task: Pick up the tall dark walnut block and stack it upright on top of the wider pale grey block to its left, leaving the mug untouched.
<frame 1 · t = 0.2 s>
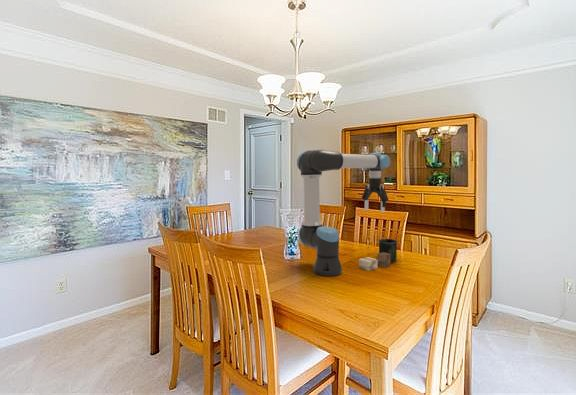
hand: (374, 211, 206), 28 cm above the table, fingers open, 13 cm apart
mug: (388, 260, 194), on the table
pale grey block: (368, 268, 178), on the table
walnut block: (383, 266, 182), on the table
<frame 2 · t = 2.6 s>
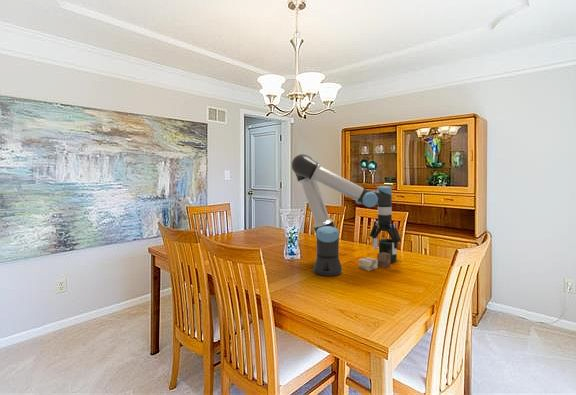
hand: (384, 251, 181), 8 cm above the table, fingers open, 13 cm apart
nothing on the table moved.
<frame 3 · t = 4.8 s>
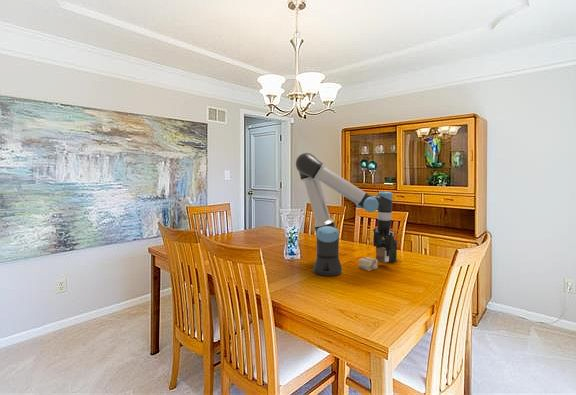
hand: (382, 260, 181), 3 cm above the table, fingers closed on walnut block, 5 cm apart
walnut block: (382, 261, 181), point 3 cm above the table, touching gripper
everything else where it was.
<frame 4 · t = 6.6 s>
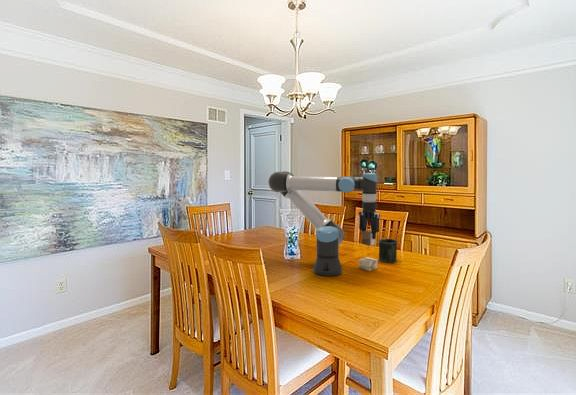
hand: (368, 243, 177), 14 cm above the table, fingers closed on walnut block, 5 cm apart
walnut block: (368, 244, 177), point 13 cm above the table, touching gripper
everything else where it was.
when the fingers open (5 cm above the table, at t = 8.2 s): walnut block stays where it is, point 5 cm above the table.
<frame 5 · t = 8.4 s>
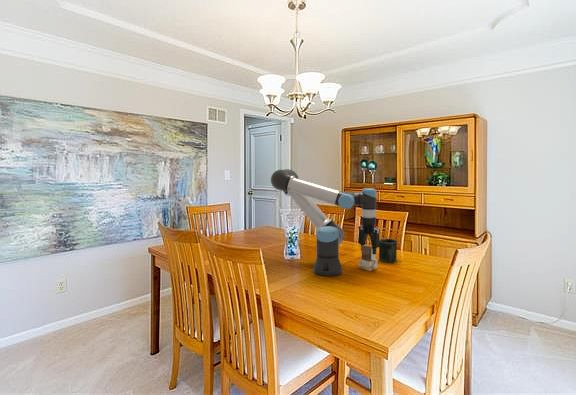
hand: (368, 258, 177), 5 cm above the table, fingers open, 6 cm apart
walnut block: (368, 259, 178), point 5 cm above the table
everything else where it was.
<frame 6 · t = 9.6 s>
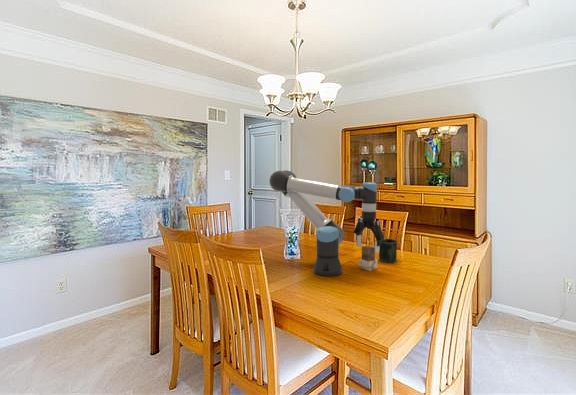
hand: (367, 249, 177), 10 cm above the table, fingers open, 13 cm apart
pale grey block: (368, 268, 178), on the table, touching walnut block
walnut block: (368, 259, 178), point 5 cm above the table, touching pale grey block
everything else where it was.
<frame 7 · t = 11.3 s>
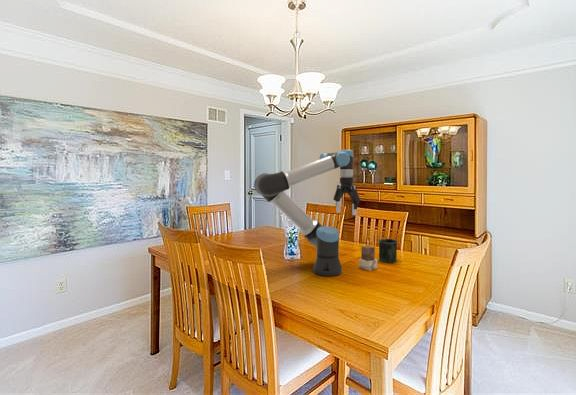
hand: (346, 213, 187), 29 cm above the table, fingers open, 13 cm apart
pale grey block: (368, 268, 178), on the table
walnut block: (367, 259, 178), point 5 cm above the table
everything else where it was.
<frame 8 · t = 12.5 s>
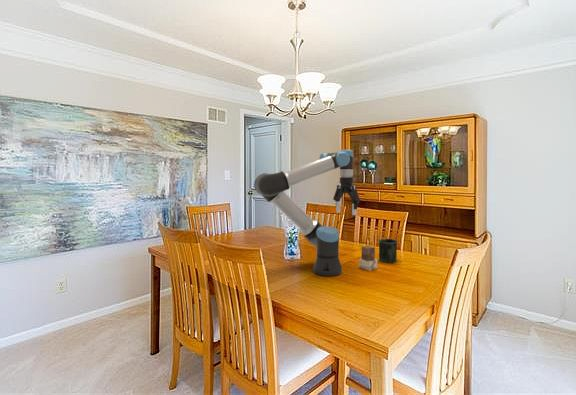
hand: (346, 213, 187), 29 cm above the table, fingers open, 13 cm apart
pale grey block: (368, 268, 178), on the table, touching walnut block
walnut block: (368, 259, 177), point 5 cm above the table, touching pale grey block
everything else where it was.
at the end: walnut block 0.4 cm off-centre on the pale grey block, point 5.0 cm above the pale grey block's base; walnut block tilted 0°; walnut block touching pale grey block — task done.
